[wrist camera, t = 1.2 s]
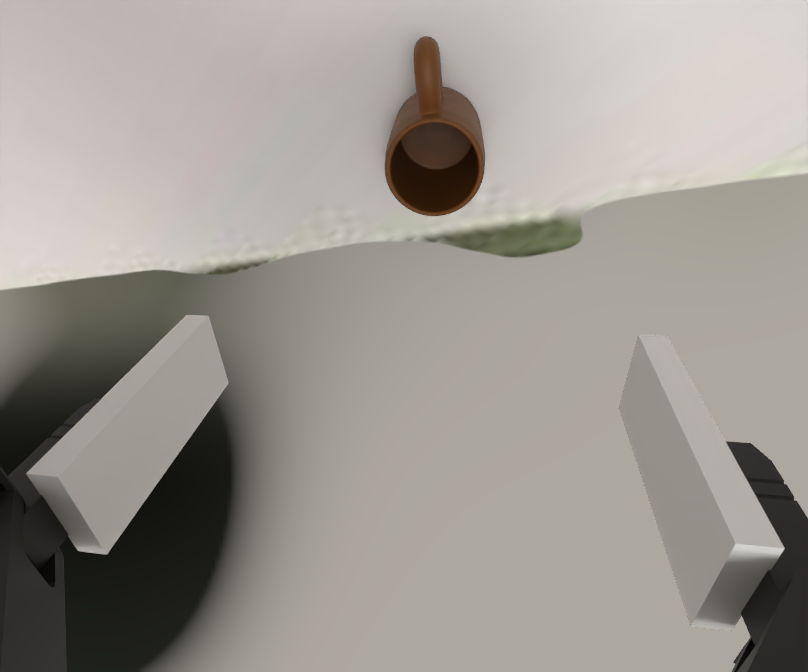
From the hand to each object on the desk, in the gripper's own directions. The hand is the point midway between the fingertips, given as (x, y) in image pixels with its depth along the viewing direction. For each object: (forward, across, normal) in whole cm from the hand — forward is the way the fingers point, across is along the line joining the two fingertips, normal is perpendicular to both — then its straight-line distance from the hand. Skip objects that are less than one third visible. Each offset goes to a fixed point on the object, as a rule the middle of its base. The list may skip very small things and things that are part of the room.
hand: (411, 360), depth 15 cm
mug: (+34, -2, +3) cm, 34 cm away
